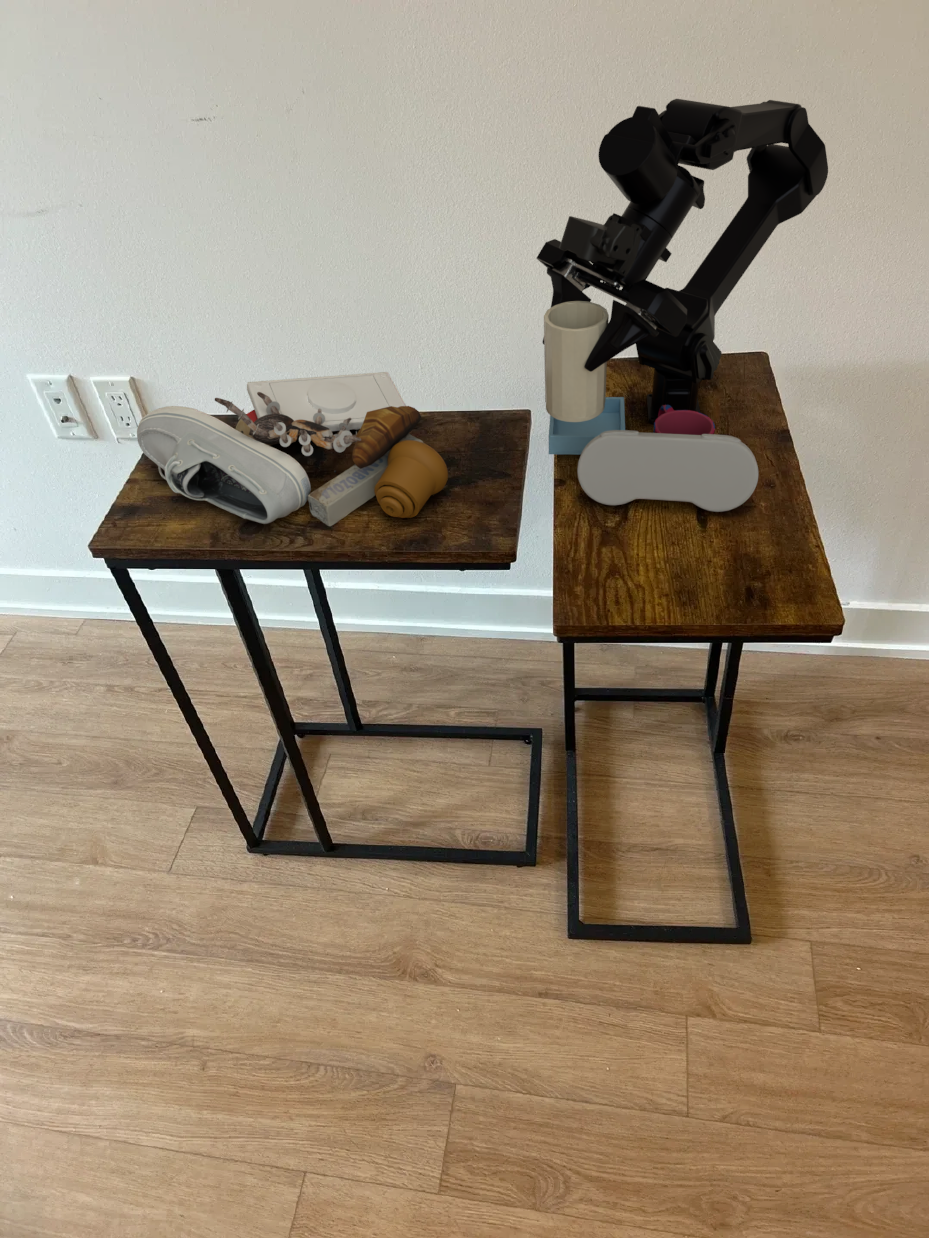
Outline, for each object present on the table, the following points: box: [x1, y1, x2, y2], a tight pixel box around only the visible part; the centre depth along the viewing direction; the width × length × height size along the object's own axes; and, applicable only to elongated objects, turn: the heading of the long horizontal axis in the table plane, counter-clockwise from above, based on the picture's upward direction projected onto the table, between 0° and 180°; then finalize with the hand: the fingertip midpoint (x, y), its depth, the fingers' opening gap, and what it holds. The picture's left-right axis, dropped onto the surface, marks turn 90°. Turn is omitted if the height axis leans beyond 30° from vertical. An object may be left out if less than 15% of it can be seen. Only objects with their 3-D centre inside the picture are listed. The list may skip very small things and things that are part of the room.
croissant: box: [352, 405, 422, 469], centre depth 103 cm, size 14×7×5 cm
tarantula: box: [214, 392, 361, 457], centre depth 105 cm, size 16×17×5 cm
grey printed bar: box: [307, 432, 424, 527], centre depth 105 cm, size 4×16×5 cm
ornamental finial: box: [374, 440, 449, 519], centre depth 101 cm, size 8×8×8 cm
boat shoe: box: [136, 405, 312, 525], centre depth 104 cm, size 25×9×8 cm
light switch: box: [246, 371, 407, 432], centre depth 115 cm, size 11×2×19 cm
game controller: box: [576, 429, 759, 513], centre depth 98 cm, size 20×2×8 cm, turn 79°
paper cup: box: [543, 301, 610, 422], centre depth 97 cm, size 7×7×11 cm
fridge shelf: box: [548, 396, 626, 455], centre depth 111 cm, size 9×9×3 cm
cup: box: [652, 405, 716, 435], centre depth 103 cm, size 7×10×7 cm
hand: (565, 357), depth 96 cm, fingers closed on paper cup, 7 cm apart
